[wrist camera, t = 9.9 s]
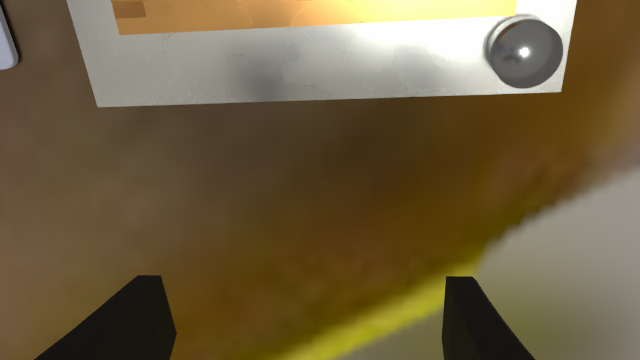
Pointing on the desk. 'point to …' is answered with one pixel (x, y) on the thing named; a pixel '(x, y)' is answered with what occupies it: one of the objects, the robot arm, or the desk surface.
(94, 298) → the desk surface
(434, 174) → the desk surface
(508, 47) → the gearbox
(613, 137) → the desk surface
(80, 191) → the desk surface
